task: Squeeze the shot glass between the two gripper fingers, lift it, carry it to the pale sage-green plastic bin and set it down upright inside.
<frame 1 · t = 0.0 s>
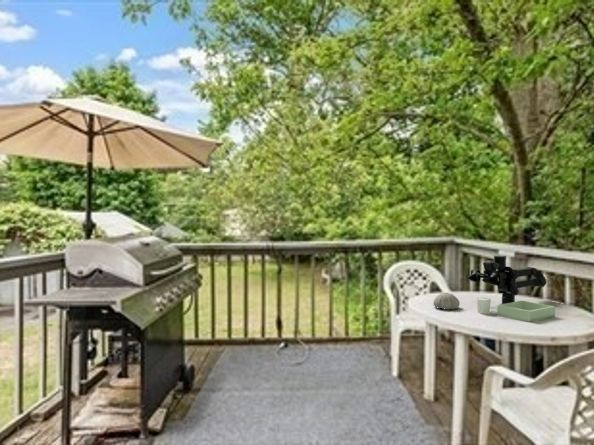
hand: (475, 279, 289), 17 cm above the table, fingers open, 9 cm apart
sea urchin shell: (446, 308, 300), on the table
shot glass: (483, 313, 287), on the table
bin: (525, 316, 278), on the table
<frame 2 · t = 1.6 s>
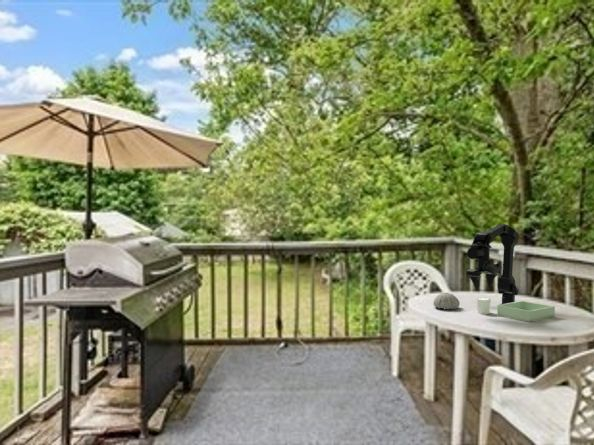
hand: (483, 288, 287), 12 cm above the table, fingers open, 9 cm apart
nothing on the table moved.
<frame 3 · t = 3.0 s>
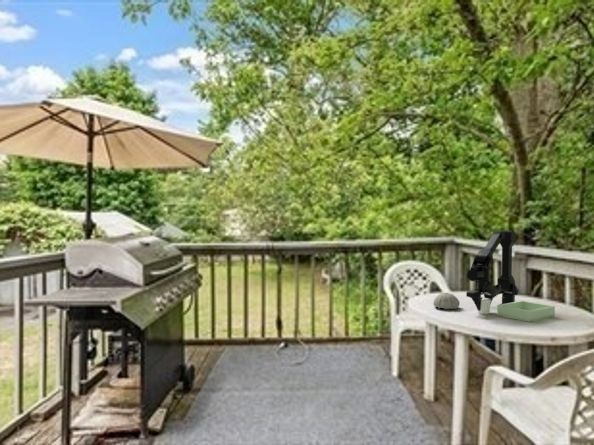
hand: (483, 309, 287), 2 cm above the table, fingers closed on shot glass, 6 cm apart
shot glass: (483, 313, 287), on the table, touching gripper
everything else where it was.
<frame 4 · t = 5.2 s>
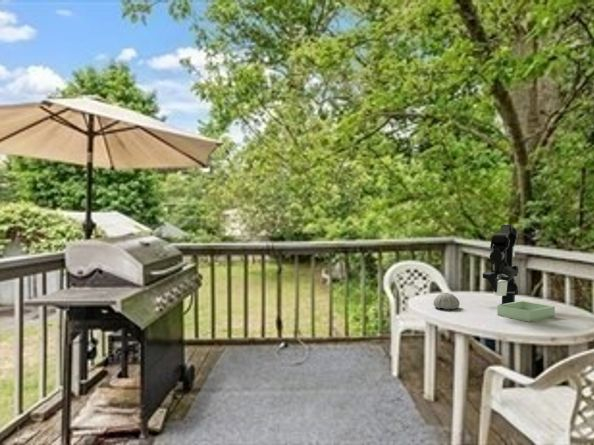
hand: (500, 291, 283), 11 cm above the table, fingers closed on shot glass, 6 cm apart
shot glass: (500, 295, 283), point 9 cm above the table, touching gripper
everything else where it was.
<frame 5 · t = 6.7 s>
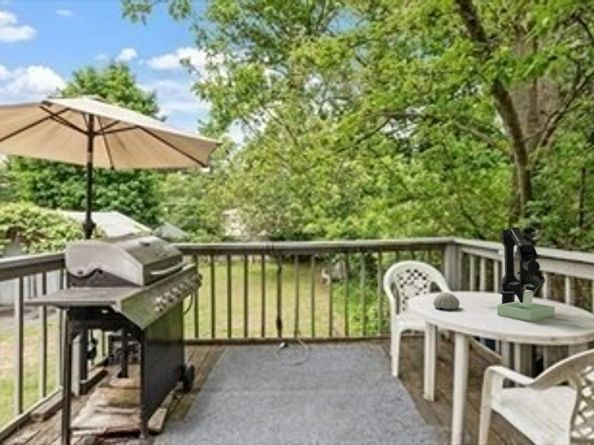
hand: (525, 302, 278), 7 cm above the table, fingers closed on shot glass, 6 cm apart
shot glass: (525, 305, 278), point 5 cm above the table, touching gripper
everything else where it was.
when the fingers open (4 cm above the table, at t = 7.7 s): shot glass drops 1 cm, resting on bin.
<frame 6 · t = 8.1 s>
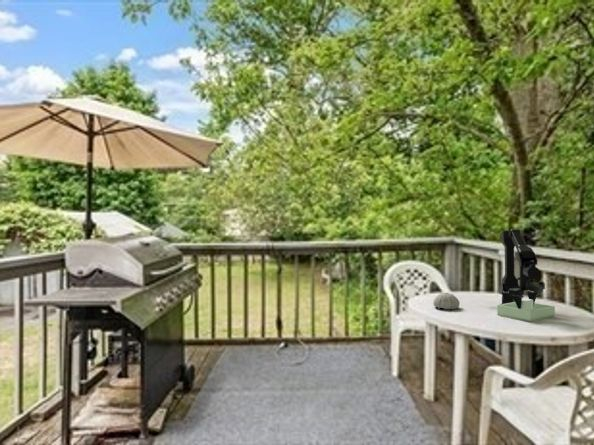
hand: (525, 307, 278), 4 cm above the table, fingers open, 9 cm apart
shot glass: (525, 314, 278), point 1 cm above the table, touching bin
everything else where it was.
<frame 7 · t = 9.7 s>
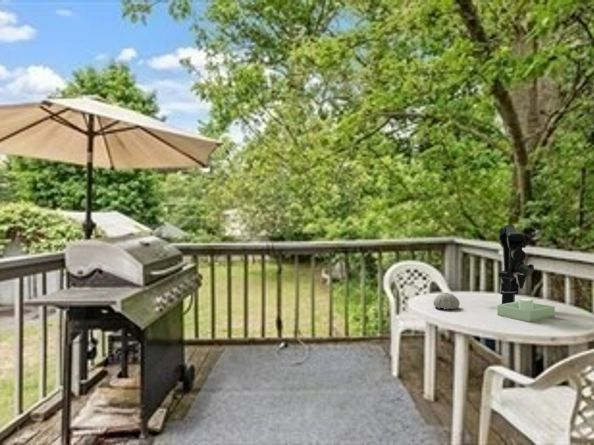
hand: (515, 290, 284), 12 cm above the table, fingers open, 9 cm apart
nothing on the table moved.
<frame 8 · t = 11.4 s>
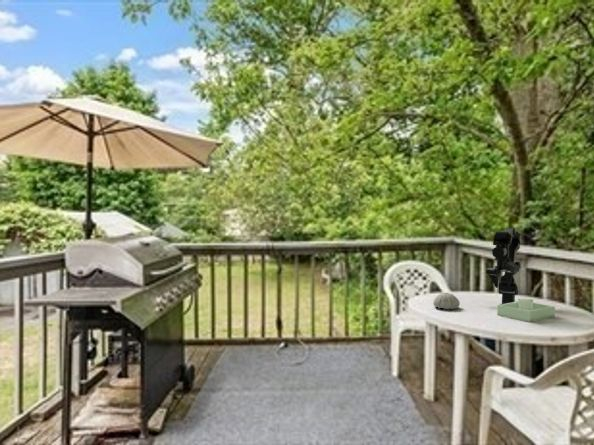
hand: (502, 286, 291), 12 cm above the table, fingers open, 9 cm apart
nothing on the table moved.
at the end: shot glass inside the target area on the bin (0.0 cm from its centre), point 0.8 cm above the bin's base; shot glass tilted 0°; the gripper is holding nothing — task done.
